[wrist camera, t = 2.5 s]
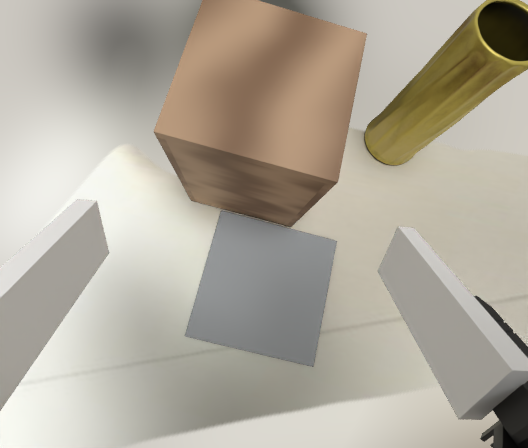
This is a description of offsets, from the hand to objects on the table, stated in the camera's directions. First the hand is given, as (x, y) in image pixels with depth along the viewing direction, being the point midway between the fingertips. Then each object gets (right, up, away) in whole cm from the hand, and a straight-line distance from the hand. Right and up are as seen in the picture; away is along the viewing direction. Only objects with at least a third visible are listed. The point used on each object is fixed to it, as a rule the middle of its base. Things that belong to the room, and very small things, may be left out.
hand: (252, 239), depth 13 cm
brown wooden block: (0, +7, +17) cm, 18 cm away
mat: (+1, -5, +14) cm, 15 cm away
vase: (+15, +10, +19) cm, 26 cm away
